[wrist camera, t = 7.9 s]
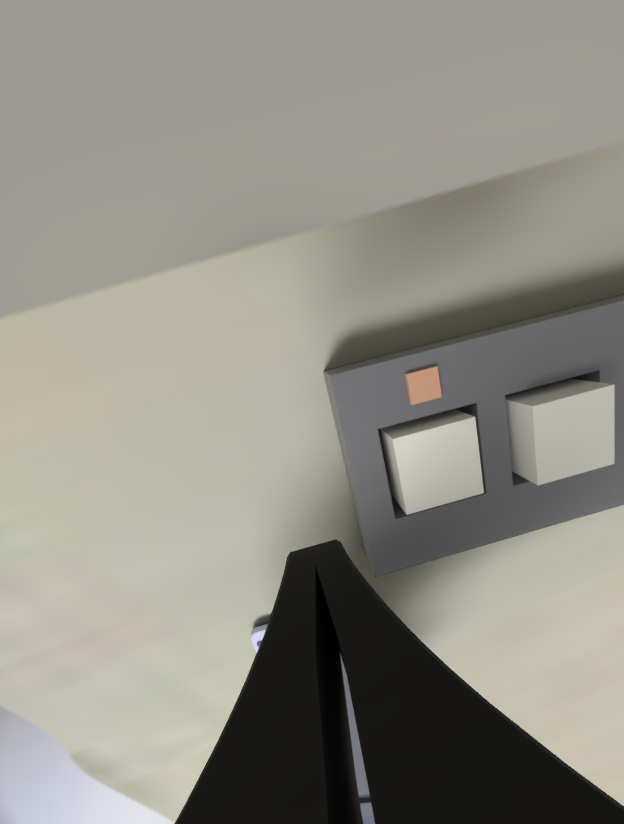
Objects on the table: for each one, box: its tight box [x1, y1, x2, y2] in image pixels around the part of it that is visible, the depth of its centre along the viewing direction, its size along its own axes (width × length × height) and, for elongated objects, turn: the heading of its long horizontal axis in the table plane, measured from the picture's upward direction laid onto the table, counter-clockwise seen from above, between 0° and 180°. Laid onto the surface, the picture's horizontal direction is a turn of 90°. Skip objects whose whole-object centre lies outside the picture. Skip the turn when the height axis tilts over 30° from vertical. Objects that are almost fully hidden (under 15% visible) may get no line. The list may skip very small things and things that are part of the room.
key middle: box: [505, 379, 615, 485], centre depth 17 cm, size 4×4×2 cm
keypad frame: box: [323, 295, 624, 577], centre depth 18 cm, size 12×23×2 cm, turn 103°
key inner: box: [378, 409, 484, 515], centre depth 18 cm, size 4×4×2 cm
